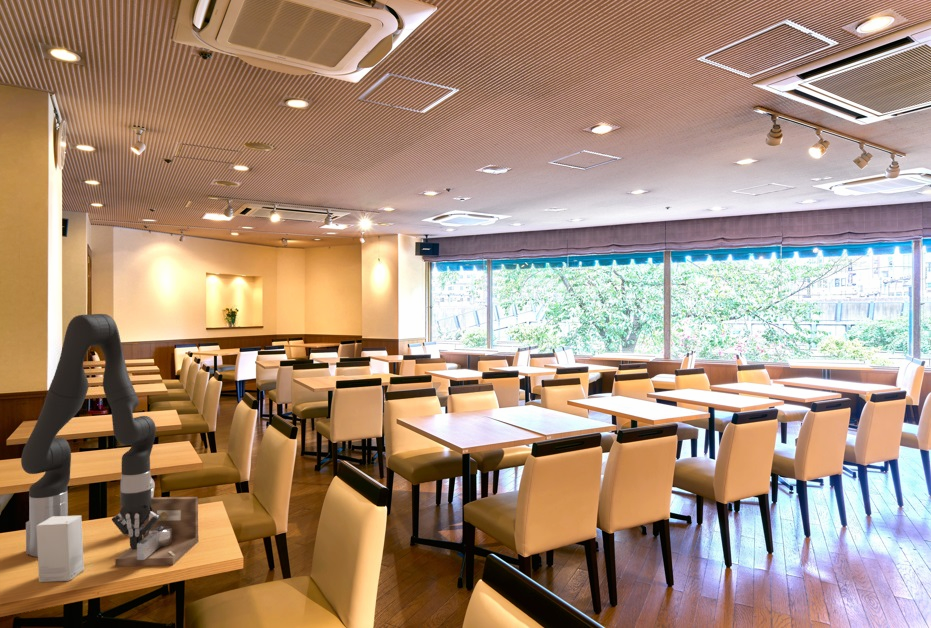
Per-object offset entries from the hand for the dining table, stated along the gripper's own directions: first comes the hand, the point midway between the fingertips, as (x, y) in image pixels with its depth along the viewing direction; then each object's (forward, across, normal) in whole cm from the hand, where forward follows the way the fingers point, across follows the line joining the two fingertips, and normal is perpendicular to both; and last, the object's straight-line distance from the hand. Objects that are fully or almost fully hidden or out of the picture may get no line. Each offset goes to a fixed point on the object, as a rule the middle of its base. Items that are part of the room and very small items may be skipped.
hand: (136, 548), depth 160 cm
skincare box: (+4, -16, -8) cm, 18 cm away
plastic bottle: (+4, -11, +24) cm, 27 cm away
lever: (+2, +3, +3) cm, 5 cm away
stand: (+4, +3, +6) cm, 8 cm away
